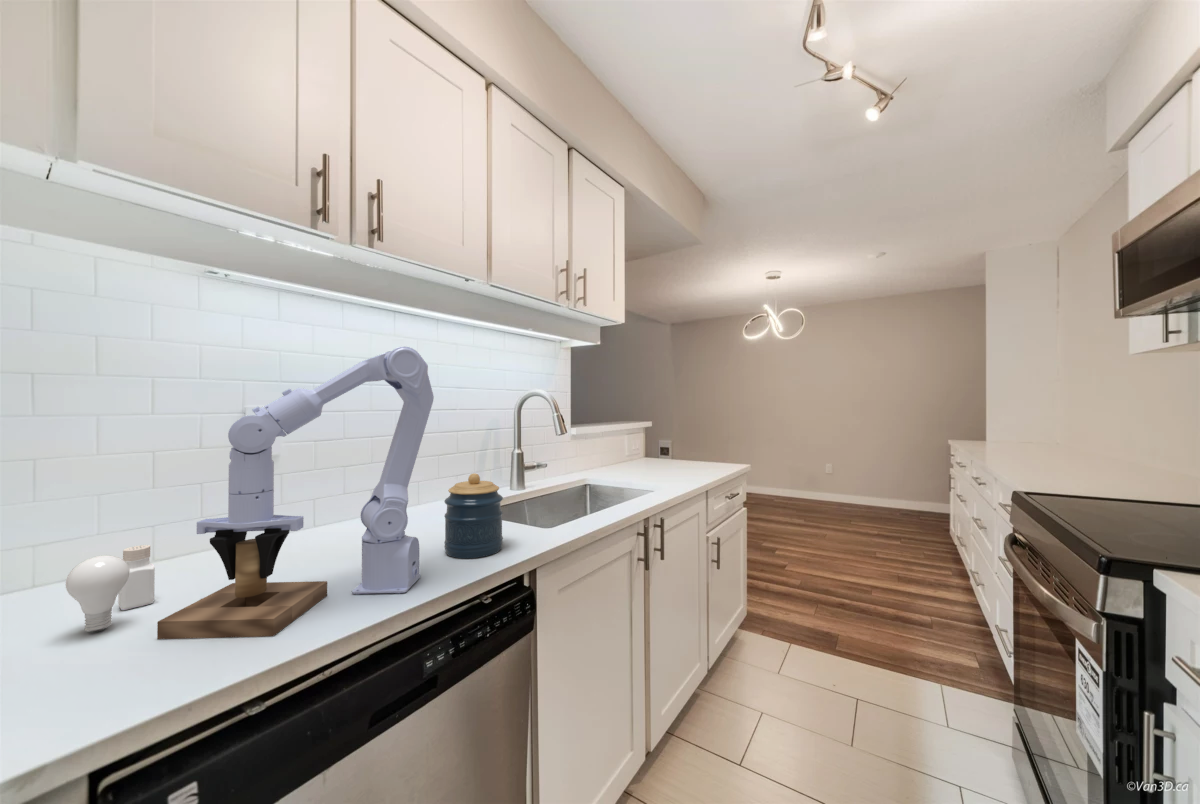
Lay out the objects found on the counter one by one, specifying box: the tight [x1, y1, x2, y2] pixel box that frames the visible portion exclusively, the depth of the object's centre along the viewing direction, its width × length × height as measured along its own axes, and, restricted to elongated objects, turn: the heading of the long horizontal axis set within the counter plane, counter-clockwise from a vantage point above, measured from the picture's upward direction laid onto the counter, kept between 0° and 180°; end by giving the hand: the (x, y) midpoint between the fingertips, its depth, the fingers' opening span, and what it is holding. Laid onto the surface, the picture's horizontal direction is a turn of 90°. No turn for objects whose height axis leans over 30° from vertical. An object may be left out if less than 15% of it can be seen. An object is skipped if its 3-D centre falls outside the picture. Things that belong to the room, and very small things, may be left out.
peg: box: [234, 538, 268, 598], centre depth 72 cm, size 4×4×8 cm
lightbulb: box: [65, 554, 130, 633], centre depth 67 cm, size 6×6×11 cm
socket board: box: [156, 580, 328, 640], centre depth 72 cm, size 16×14×2 cm
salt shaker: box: [117, 544, 156, 611], centre depth 76 cm, size 4×4×10 cm
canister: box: [443, 472, 504, 559], centre depth 104 cm, size 13×13×18 cm
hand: (251, 576), depth 72 cm, fingers closed on peg, 4 cm apart
